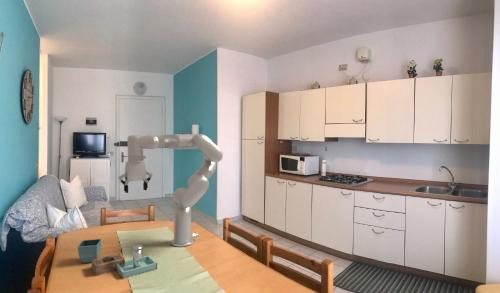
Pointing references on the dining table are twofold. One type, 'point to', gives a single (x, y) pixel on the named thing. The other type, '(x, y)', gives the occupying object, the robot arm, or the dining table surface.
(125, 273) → the tray
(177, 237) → the robot arm
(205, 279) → the dining table surface
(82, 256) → the flower pot
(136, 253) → the pin
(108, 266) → the socket block
